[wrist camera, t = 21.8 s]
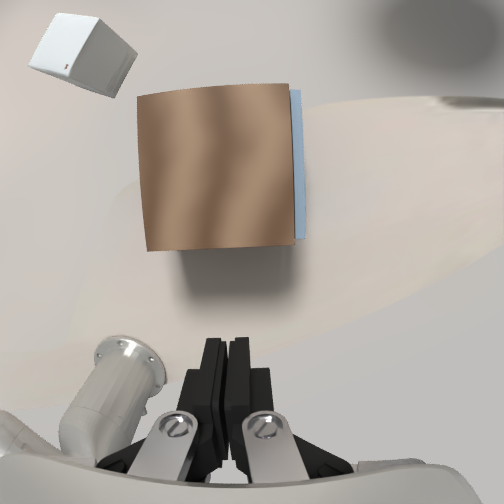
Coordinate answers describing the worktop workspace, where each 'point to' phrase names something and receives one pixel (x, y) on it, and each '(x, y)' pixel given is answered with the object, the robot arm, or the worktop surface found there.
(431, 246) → the worktop surface
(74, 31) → the supplement box
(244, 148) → the tan storage bin
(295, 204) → the tray
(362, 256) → the worktop surface
